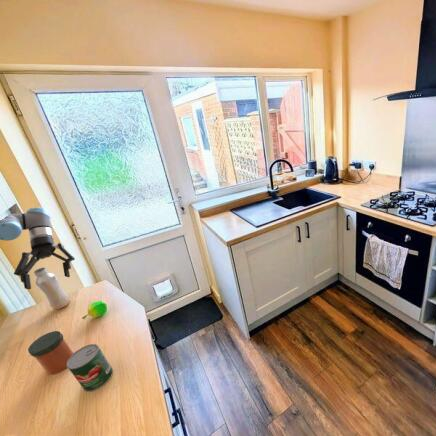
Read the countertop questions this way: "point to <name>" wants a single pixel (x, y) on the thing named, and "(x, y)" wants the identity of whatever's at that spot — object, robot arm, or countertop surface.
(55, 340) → the jar lid
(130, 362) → the countertop surface
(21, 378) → the countertop surface
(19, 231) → the robot arm
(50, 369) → the jam jar
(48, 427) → the countertop surface
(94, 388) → the canned tomato
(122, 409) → the countertop surface
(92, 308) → the apple
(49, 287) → the plastic bottle
